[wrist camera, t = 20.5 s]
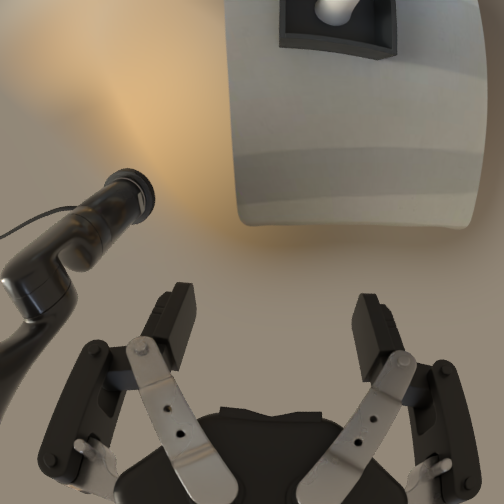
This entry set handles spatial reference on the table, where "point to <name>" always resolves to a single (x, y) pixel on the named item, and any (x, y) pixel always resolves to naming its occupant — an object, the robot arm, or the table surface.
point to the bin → (341, 29)
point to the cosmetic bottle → (335, 11)
